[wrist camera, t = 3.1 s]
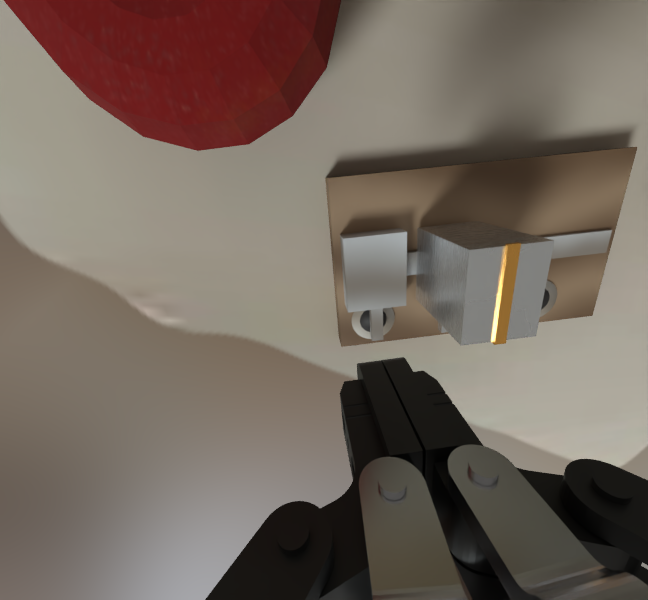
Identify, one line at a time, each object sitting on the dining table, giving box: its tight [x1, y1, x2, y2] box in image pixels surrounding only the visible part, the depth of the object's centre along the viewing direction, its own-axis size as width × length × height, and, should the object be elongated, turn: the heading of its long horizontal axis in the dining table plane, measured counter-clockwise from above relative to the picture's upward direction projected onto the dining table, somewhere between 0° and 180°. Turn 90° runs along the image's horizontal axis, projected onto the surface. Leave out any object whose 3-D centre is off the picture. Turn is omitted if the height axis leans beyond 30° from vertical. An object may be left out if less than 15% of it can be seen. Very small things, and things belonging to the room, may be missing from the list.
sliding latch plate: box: [326, 147, 637, 347], centre depth 22 cm, size 12×20×3 cm, turn 95°
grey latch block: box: [416, 221, 555, 345], centre depth 18 cm, size 8×4×7 cm, turn 5°
